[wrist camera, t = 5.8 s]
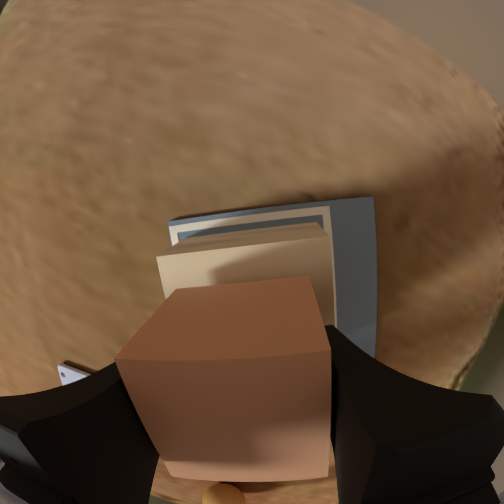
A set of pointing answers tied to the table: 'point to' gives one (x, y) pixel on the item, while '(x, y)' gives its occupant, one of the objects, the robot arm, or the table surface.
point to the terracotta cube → (235, 381)
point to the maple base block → (253, 260)
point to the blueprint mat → (342, 252)
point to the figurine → (223, 495)
